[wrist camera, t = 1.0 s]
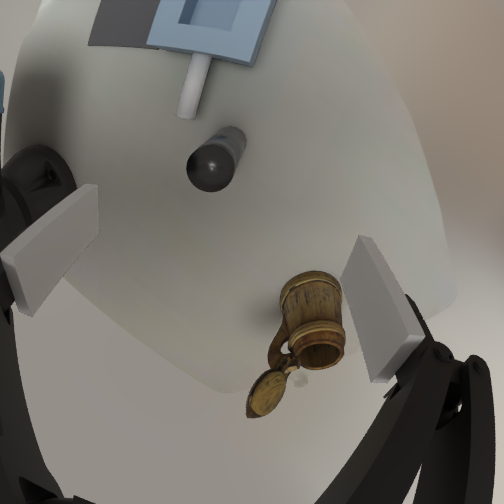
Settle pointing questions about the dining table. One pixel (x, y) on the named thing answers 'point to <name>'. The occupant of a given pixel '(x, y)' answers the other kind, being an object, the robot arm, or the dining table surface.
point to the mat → (124, 23)
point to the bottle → (216, 160)
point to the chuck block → (209, 37)
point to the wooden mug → (301, 337)
